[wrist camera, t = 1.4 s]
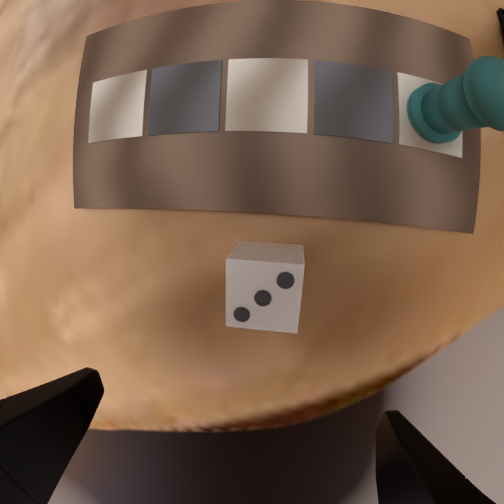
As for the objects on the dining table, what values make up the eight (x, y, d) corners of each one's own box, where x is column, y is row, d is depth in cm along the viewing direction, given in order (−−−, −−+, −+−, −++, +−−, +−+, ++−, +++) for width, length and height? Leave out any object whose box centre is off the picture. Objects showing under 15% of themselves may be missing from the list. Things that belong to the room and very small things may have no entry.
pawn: (454, 94, 12) (539, 63, 4) (456, 148, 13) (549, 146, 5) (405, 81, 13) (477, 28, 5) (406, 137, 14) (491, 118, 6)
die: (303, 244, 18) (304, 265, 14) (298, 302, 19) (297, 334, 15) (240, 239, 19) (225, 259, 15) (239, 296, 20) (225, 327, 16)
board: (462, 43, 12) (470, 38, 11) (464, 229, 16) (474, 234, 15) (95, 40, 16) (85, 35, 14) (84, 206, 20) (73, 208, 18)
